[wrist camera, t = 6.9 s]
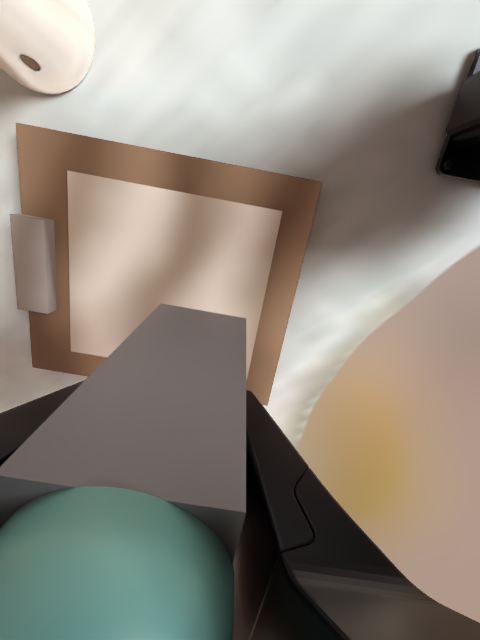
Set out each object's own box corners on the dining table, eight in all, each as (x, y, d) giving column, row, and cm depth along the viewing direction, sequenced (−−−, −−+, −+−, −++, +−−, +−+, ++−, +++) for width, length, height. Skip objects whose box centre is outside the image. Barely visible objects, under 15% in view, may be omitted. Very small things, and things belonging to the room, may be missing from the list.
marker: (233, 393, 12) (201, 851, 3) (151, 380, 12) (-105, 819, 3) (249, 316, 11) (261, 704, 2) (158, 300, 11) (-205, 646, 2)
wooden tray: (317, 184, 19) (326, 179, 17) (266, 396, 24) (268, 413, 22) (30, 128, 18) (2, 117, 16) (43, 359, 23) (23, 373, 21)
